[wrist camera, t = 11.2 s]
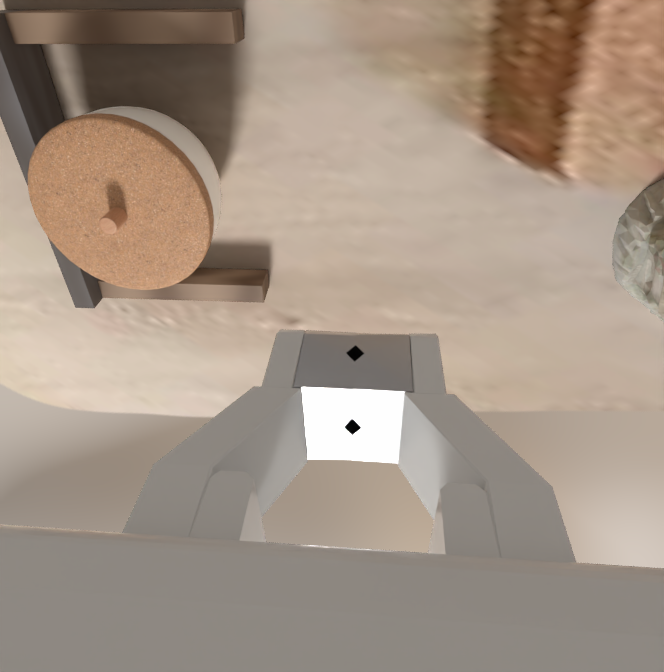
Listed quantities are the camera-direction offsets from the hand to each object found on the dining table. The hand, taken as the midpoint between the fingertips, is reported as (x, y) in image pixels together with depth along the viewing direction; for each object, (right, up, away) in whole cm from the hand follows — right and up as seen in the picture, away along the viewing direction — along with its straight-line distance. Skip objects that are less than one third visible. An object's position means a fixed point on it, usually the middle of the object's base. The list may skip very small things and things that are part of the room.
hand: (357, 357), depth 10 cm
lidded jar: (-12, +12, +25) cm, 31 cm away
